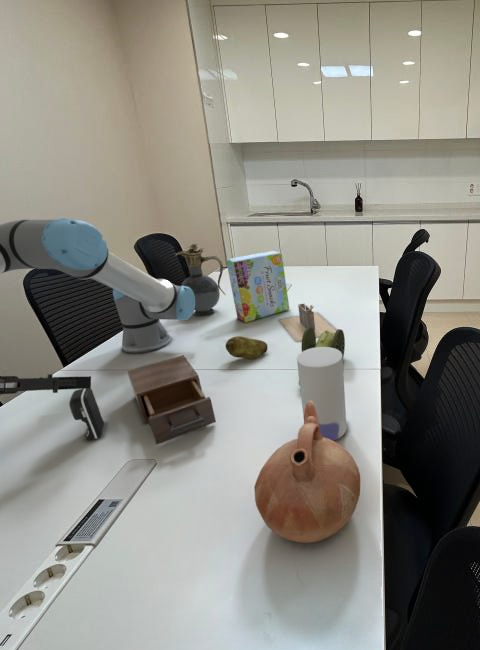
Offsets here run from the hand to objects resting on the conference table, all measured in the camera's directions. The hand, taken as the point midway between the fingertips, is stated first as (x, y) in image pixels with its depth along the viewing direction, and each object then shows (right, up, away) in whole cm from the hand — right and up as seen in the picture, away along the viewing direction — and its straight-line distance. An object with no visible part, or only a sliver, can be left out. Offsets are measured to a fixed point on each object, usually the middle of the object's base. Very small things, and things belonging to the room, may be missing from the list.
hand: (89, 382), depth 88 cm
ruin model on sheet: (+39, +14, +67) cm, 79 cm away
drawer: (+18, -11, +8) cm, 22 cm away
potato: (+23, +3, +42) cm, 48 cm away
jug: (+54, -22, -18) cm, 61 cm away
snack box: (+17, +20, +81) cm, 85 cm away
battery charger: (-3, -13, +6) cm, 15 cm away
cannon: (+48, 0, +33) cm, 58 cm away
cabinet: (+8, -7, +19) cm, 22 cm away
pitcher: (-8, +21, +85) cm, 88 cm away
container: (+54, -12, +5) cm, 55 cm away
